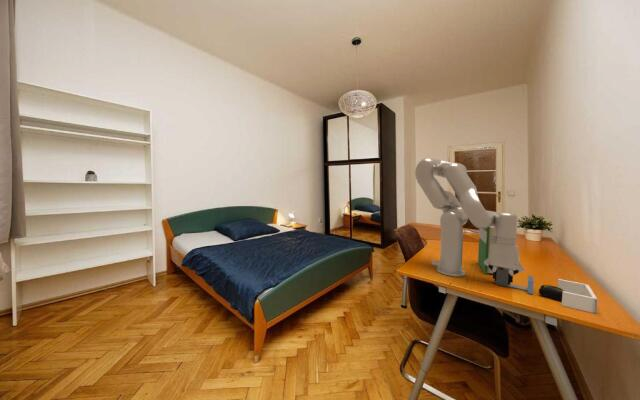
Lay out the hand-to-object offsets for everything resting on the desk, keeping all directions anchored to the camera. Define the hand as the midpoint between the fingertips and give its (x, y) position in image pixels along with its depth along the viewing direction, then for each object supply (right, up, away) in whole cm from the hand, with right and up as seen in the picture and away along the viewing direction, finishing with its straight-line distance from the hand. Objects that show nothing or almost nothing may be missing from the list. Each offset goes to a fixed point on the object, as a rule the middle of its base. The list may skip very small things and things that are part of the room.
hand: (502, 281), depth 101 cm
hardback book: (+8, -1, +18) cm, 20 cm away
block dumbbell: (+3, -1, -2) cm, 4 cm away
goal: (+16, -2, -14) cm, 22 cm away
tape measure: (+10, -2, -12) cm, 16 cm away
